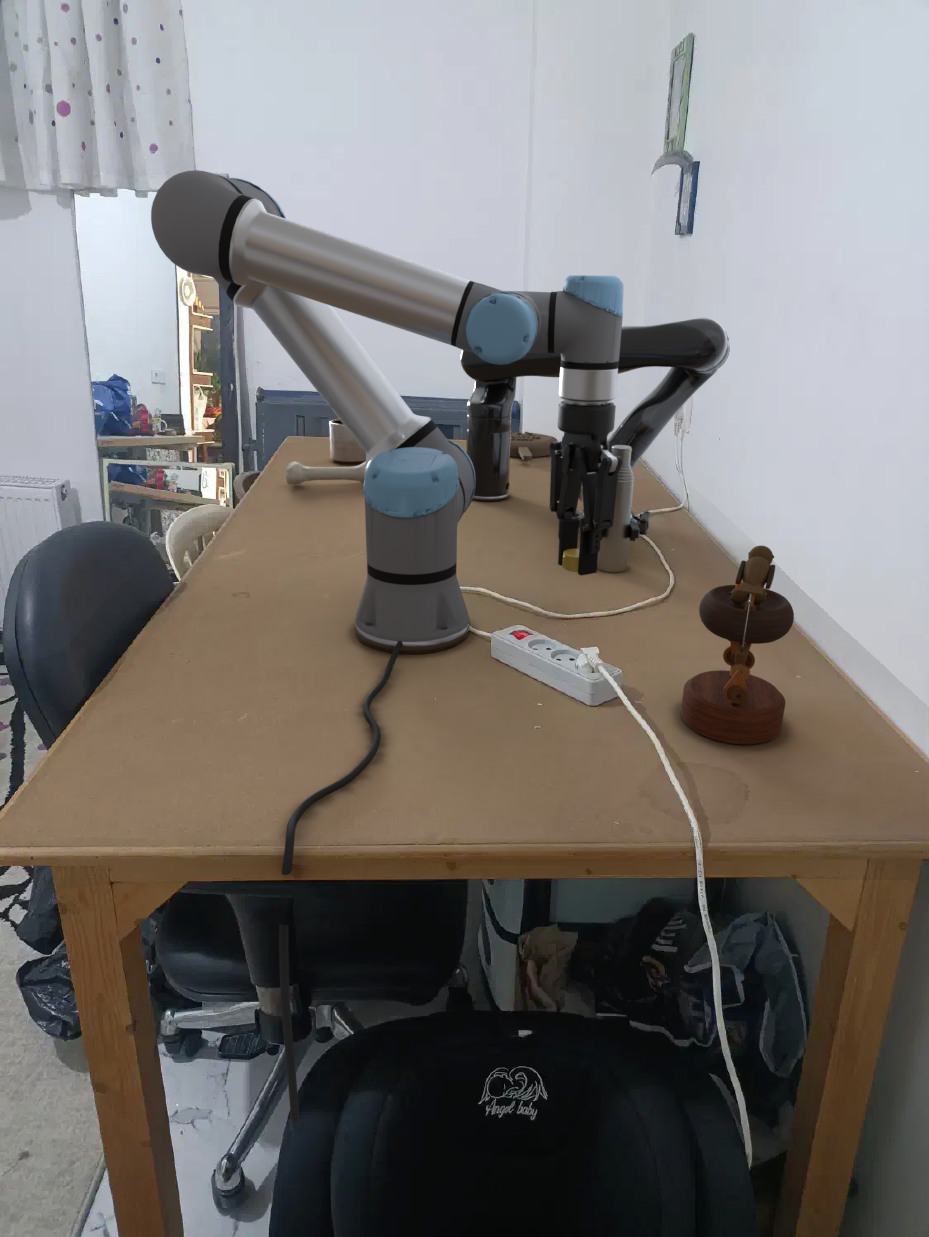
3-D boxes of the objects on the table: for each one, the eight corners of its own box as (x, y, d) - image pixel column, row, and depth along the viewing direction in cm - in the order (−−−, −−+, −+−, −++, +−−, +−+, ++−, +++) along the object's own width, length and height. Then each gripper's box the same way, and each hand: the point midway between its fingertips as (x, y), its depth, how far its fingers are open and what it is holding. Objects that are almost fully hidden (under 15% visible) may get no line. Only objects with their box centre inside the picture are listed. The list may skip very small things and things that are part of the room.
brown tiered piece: (801, 756, 85) (818, 567, 77) (689, 756, 86) (695, 570, 79) (768, 687, 99) (780, 521, 91) (672, 688, 100) (676, 525, 93)
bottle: (618, 562, 142) (629, 443, 134) (630, 571, 137) (642, 449, 130) (593, 564, 140) (602, 444, 133) (603, 573, 136) (614, 450, 129)
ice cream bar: (485, 466, 209) (486, 449, 208) (478, 444, 235) (479, 429, 234) (570, 466, 210) (571, 449, 209) (554, 445, 236) (554, 430, 235)
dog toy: (376, 479, 194) (375, 458, 192) (378, 485, 188) (377, 463, 186) (286, 481, 191) (285, 459, 189) (286, 488, 185) (284, 465, 183)
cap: (556, 566, 121) (556, 551, 120) (579, 561, 123) (580, 546, 122) (575, 574, 118) (576, 559, 117) (598, 569, 120) (599, 554, 119)
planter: (327, 456, 217) (325, 418, 214) (369, 454, 220) (368, 417, 217) (334, 465, 208) (332, 425, 204) (377, 463, 211) (376, 424, 207)
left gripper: (652, 407, 106) (636, 582, 115) (572, 391, 120) (563, 548, 129) (604, 411, 103) (592, 591, 112) (528, 394, 117) (522, 555, 126)
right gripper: (565, 485, 148) (573, 510, 133) (647, 487, 148) (665, 512, 132) (563, 526, 151) (570, 555, 136) (643, 528, 151) (660, 558, 135)
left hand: (577, 568), depth 120 cm, fingers closed on cap, 4 cm apart
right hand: (617, 534), depth 134 cm, fingers closed on bottle, 4 cm apart
